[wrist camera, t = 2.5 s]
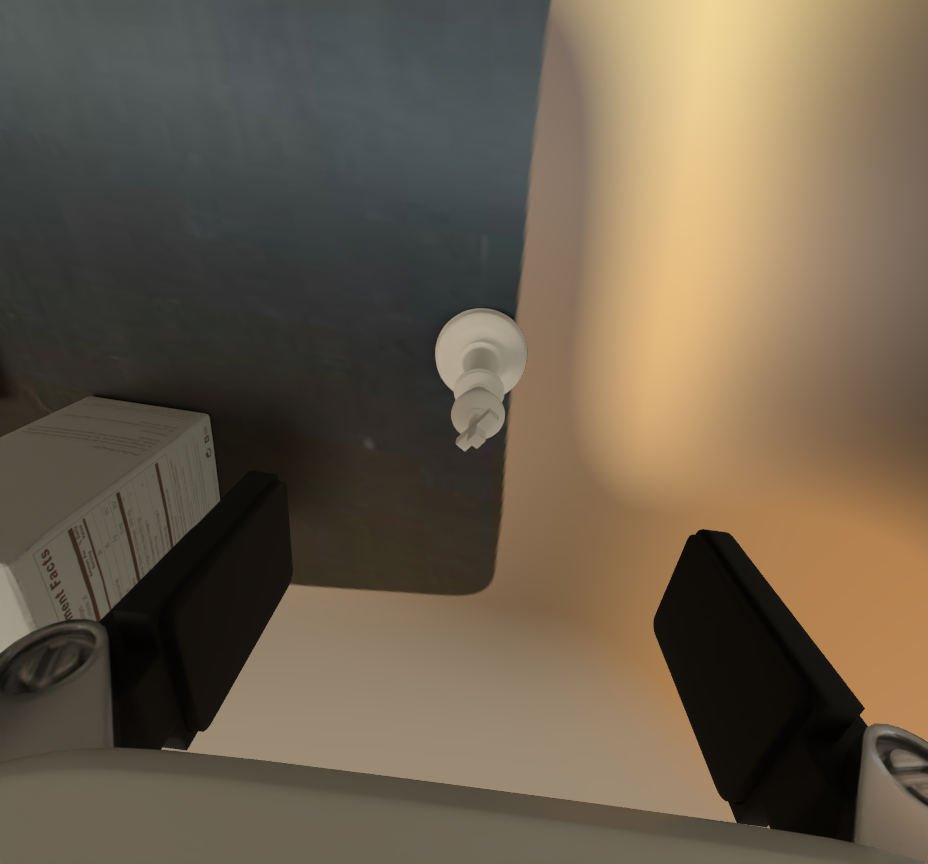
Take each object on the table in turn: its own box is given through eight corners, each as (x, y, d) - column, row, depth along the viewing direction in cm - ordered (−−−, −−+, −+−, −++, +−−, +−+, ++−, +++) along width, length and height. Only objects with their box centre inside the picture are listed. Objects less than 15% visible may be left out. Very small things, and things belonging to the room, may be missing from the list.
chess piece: (546, 353, 23) (583, 440, 14) (482, 414, 25) (478, 525, 16) (480, 286, 22) (474, 336, 13) (416, 355, 24) (372, 441, 15)
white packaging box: (114, 494, 29) (-127, 674, 18) (88, 391, 26) (-228, 531, 14) (225, 512, 29) (58, 702, 18) (214, 412, 26) (0, 566, 14)
